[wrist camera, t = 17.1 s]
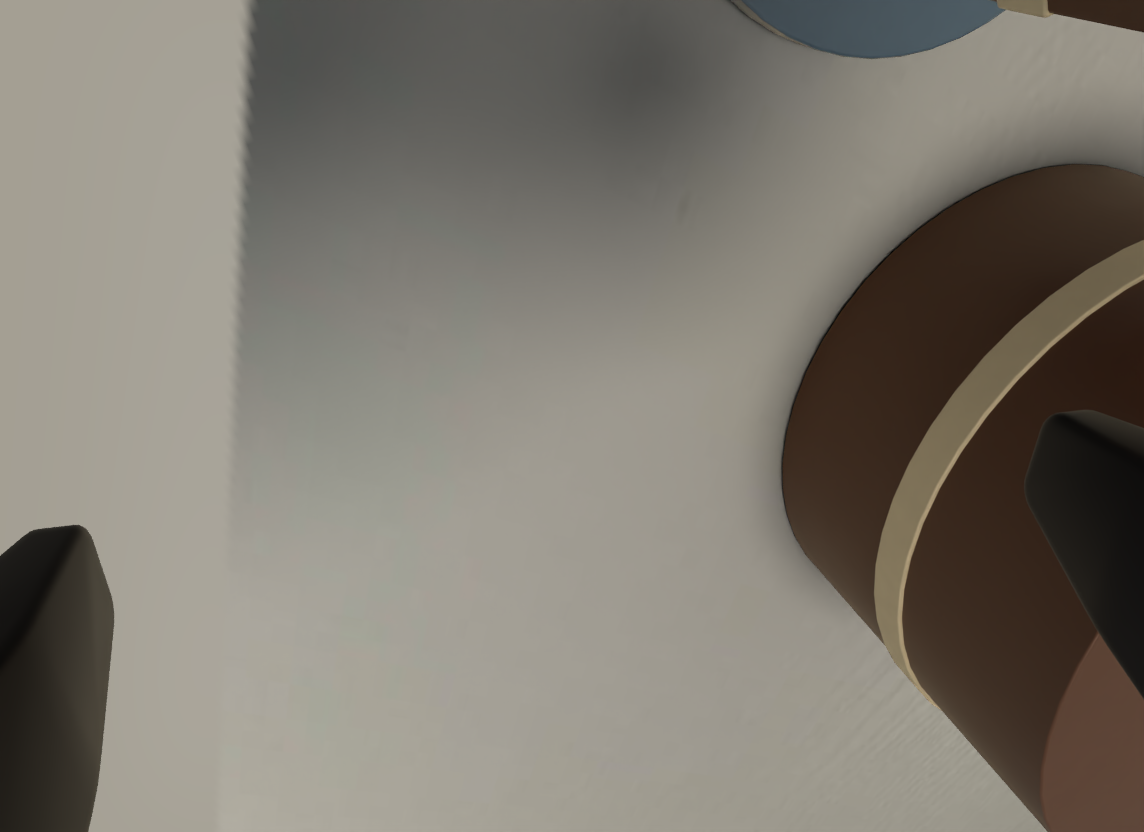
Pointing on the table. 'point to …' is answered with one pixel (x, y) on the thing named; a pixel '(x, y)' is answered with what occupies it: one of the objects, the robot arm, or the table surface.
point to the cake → (984, 474)
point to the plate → (871, 23)
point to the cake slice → (1084, 10)
